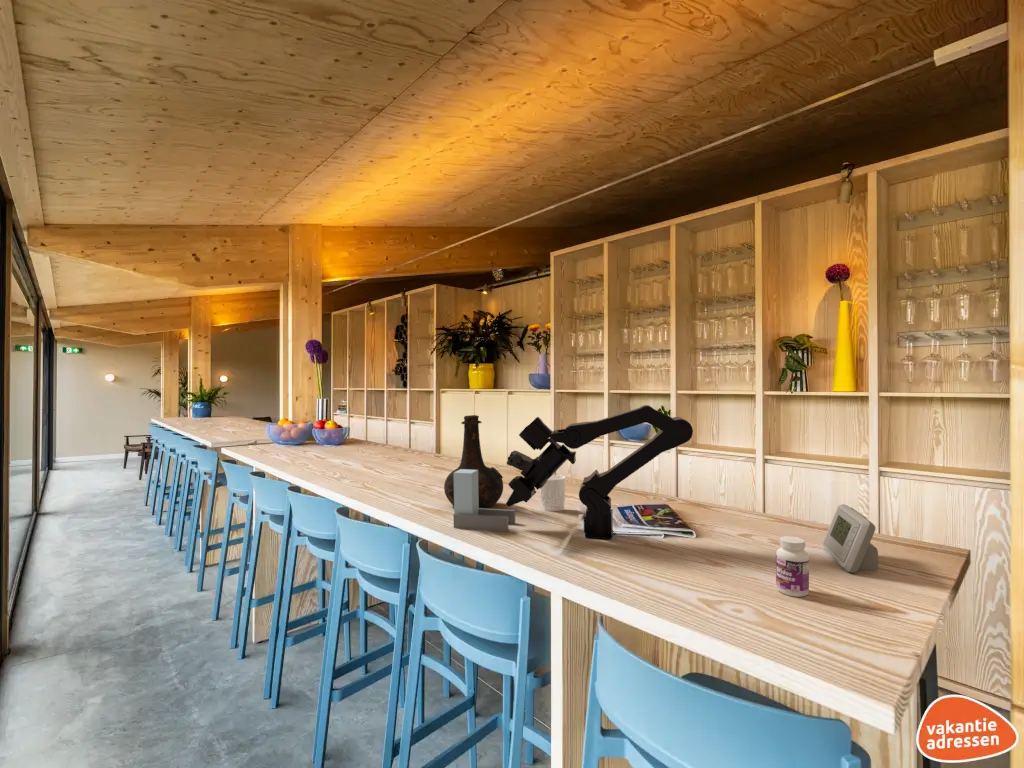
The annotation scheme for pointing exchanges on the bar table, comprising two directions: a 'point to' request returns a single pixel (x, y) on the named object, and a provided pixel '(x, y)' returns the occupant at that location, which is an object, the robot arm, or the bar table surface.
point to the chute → (486, 519)
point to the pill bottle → (792, 567)
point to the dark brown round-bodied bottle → (476, 467)
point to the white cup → (553, 493)
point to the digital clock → (851, 540)
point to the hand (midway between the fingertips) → (507, 504)
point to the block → (466, 492)
